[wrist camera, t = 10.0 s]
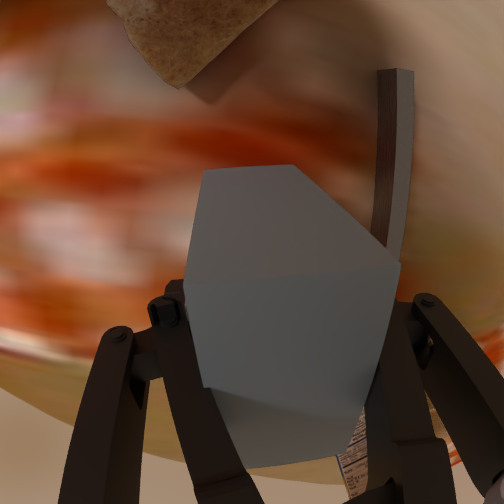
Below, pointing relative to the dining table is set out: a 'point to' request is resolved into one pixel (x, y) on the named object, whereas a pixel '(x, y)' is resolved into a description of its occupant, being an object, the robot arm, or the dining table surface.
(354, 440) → the blue food box
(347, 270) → the slate carton
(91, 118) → the dining table surface
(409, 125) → the rail
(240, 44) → the dining table surface
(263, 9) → the brown piece
